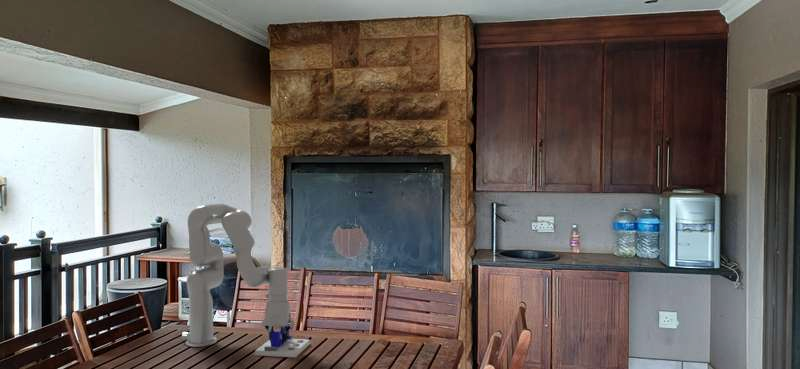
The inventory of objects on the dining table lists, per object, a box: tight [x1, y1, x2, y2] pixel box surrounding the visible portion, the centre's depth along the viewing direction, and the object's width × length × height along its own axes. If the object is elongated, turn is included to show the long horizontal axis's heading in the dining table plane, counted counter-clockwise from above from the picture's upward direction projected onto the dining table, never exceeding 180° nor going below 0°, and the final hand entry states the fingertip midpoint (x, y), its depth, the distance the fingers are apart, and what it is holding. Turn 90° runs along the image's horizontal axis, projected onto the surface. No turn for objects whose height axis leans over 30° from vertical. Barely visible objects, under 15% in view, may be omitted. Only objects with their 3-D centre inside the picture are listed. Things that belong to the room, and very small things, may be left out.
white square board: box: [254, 334, 311, 358], centre depth 223 cm, size 17×17×4 cm
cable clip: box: [271, 324, 290, 348], centre depth 224 cm, size 12×4×6 cm, turn 170°
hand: (278, 341), depth 223 cm, fingers closed on cable clip, 4 cm apart
